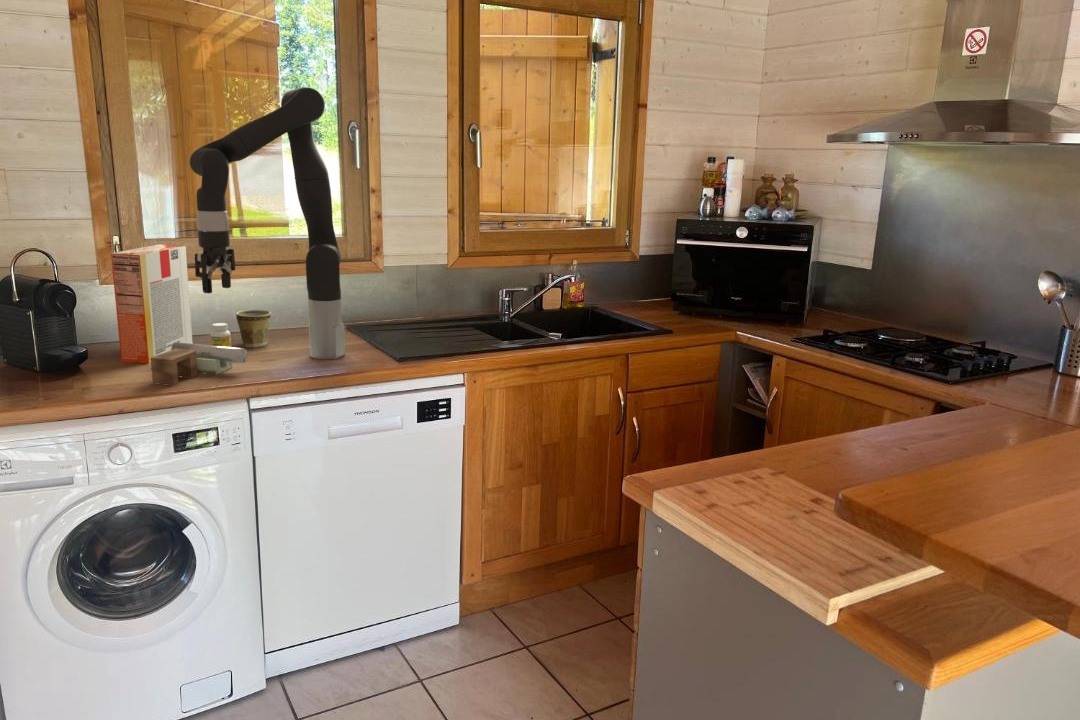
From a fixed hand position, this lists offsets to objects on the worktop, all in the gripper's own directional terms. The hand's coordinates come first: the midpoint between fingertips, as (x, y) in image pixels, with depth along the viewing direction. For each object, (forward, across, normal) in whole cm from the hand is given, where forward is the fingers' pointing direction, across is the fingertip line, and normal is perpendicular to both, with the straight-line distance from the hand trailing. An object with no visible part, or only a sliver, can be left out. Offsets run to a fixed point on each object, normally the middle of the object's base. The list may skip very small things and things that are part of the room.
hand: (217, 290), depth 206 cm
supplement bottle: (+22, -13, -8) cm, 27 cm away
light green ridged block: (+22, 0, -4) cm, 23 cm away
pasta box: (+22, -11, -28) cm, 37 cm away
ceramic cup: (+22, -30, -8) cm, 39 cm away
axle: (+19, 0, -4) cm, 20 cm away
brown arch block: (+22, +11, -6) cm, 25 cm away
